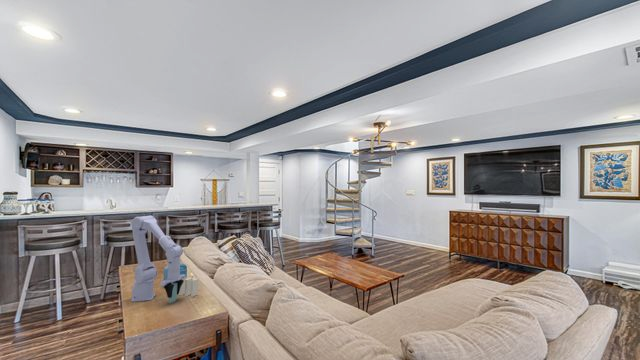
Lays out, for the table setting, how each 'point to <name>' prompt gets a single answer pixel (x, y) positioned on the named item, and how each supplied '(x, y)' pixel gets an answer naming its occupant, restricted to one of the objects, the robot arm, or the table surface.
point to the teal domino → (174, 293)
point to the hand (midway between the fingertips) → (173, 295)
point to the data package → (182, 271)
